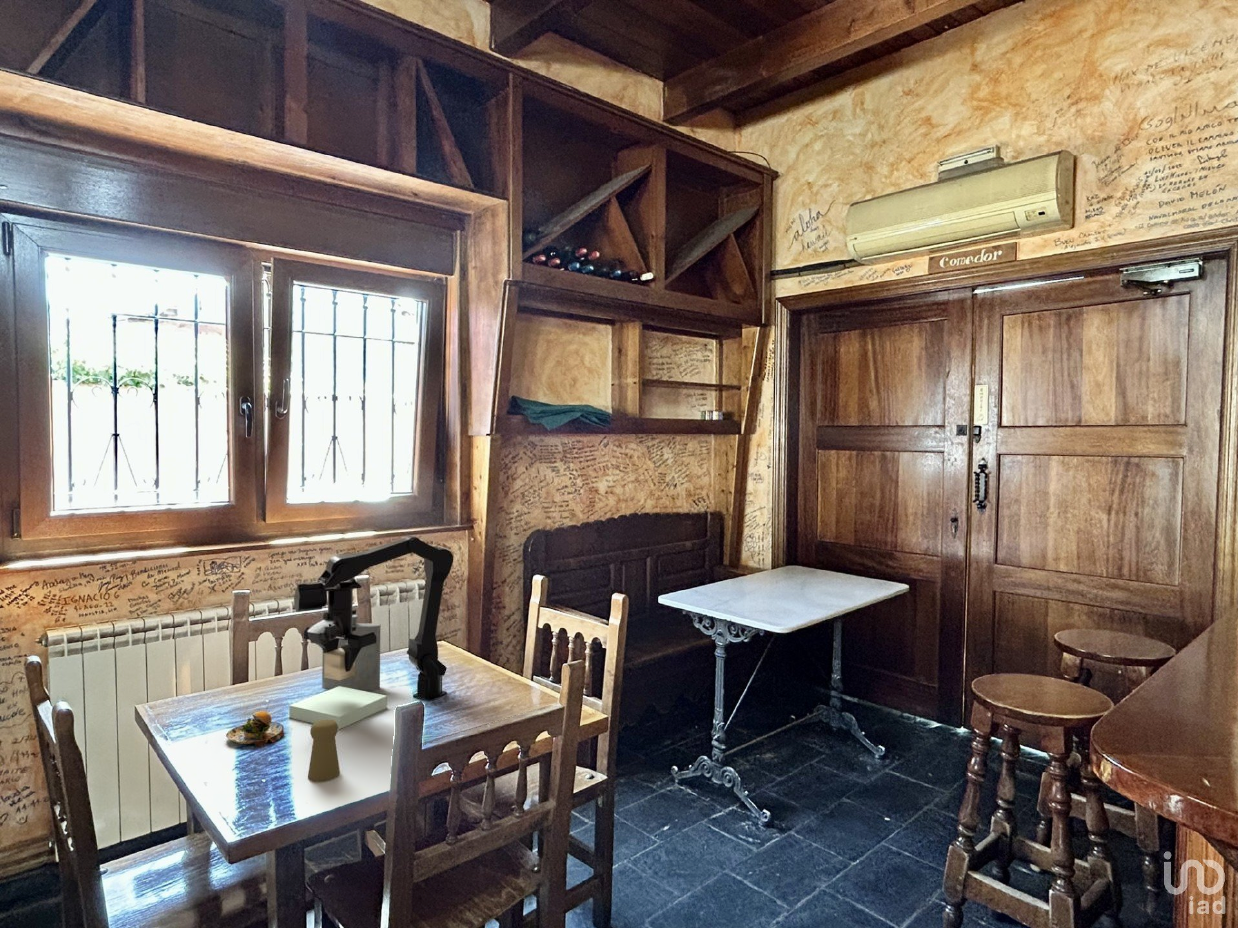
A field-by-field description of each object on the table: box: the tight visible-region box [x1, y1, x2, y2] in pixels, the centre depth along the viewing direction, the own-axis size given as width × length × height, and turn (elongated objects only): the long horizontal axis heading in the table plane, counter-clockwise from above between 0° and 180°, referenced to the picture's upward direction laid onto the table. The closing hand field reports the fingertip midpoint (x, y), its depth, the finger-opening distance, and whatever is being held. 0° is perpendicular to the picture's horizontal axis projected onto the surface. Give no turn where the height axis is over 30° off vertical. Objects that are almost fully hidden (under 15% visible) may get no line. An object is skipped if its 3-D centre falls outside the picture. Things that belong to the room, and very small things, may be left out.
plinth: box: [288, 686, 388, 730], centre depth 183 cm, size 16×16×3 cm
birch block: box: [324, 648, 355, 681], centre depth 183 cm, size 5×5×6 cm
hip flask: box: [321, 614, 381, 691], centre depth 201 cm, size 16×4×20 cm, turn 86°
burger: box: [225, 705, 285, 748], centre depth 167 cm, size 12×12×8 cm
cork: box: [307, 719, 341, 783], centre depth 149 cm, size 6×6×11 cm
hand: (339, 669), depth 183 cm, fingers closed on birch block, 5 cm apart
